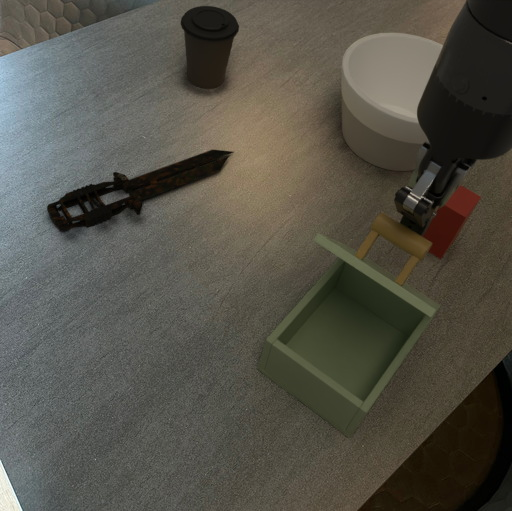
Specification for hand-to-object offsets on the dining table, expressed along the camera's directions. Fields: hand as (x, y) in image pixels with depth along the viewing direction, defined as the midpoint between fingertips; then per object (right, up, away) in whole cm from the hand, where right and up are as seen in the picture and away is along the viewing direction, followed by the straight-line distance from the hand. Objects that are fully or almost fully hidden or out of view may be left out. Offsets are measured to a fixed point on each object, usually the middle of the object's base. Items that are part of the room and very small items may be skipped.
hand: (409, 233), depth 57 cm
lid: (-2, -4, +2) cm, 5 cm away
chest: (-5, -13, +11) cm, 17 cm away
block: (+9, 0, +23) cm, 24 cm away
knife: (-27, +7, +22) cm, 36 cm away
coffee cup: (-21, +24, +37) cm, 49 cm away
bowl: (+5, +15, +34) cm, 38 cm away
